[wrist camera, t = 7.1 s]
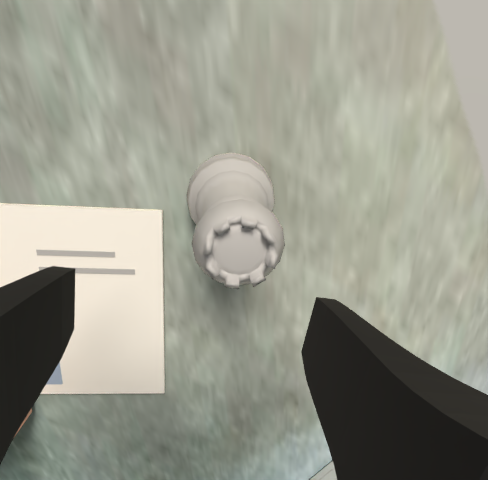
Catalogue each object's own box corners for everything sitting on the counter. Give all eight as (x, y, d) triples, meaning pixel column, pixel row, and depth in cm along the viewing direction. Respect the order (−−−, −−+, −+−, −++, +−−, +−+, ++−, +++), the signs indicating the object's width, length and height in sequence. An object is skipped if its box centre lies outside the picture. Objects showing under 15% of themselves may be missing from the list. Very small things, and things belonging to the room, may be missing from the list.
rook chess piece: (208, 135, 19) (204, 164, 11) (287, 173, 20) (332, 222, 12) (174, 214, 20) (151, 287, 13) (250, 245, 21) (270, 330, 14)
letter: (-20, 202, 19) (-24, 204, 19) (162, 209, 20) (161, 211, 19) (16, 390, 23) (14, 394, 23) (164, 389, 24) (164, 394, 24)
